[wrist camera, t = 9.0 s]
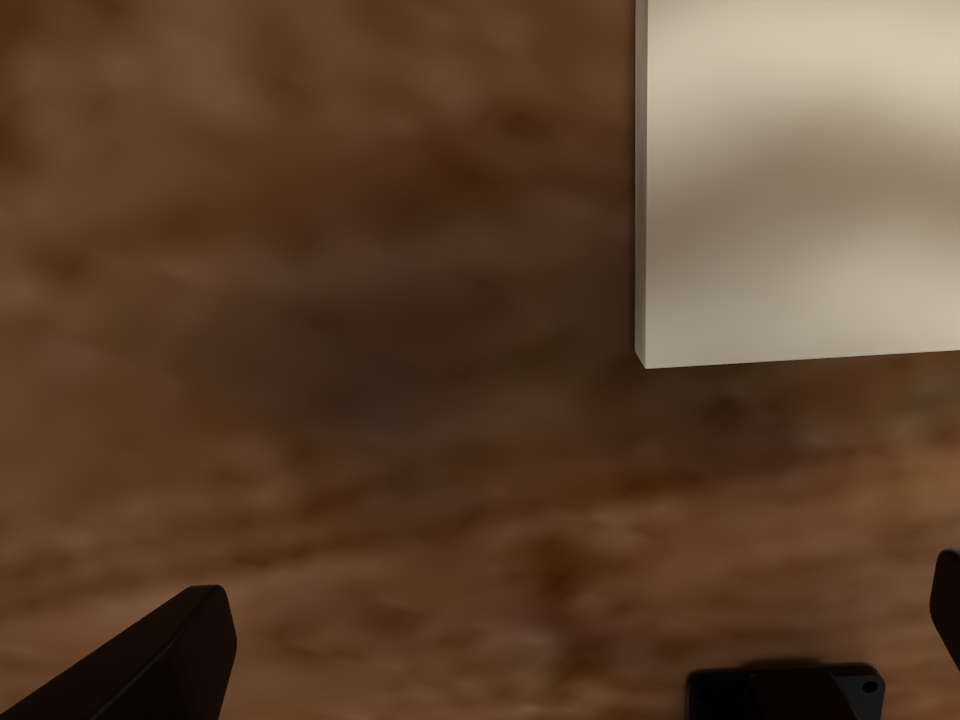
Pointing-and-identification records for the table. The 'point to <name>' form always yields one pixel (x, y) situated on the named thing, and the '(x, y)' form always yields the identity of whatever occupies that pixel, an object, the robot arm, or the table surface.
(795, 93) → the duct base
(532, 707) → the table surface
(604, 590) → the table surface
